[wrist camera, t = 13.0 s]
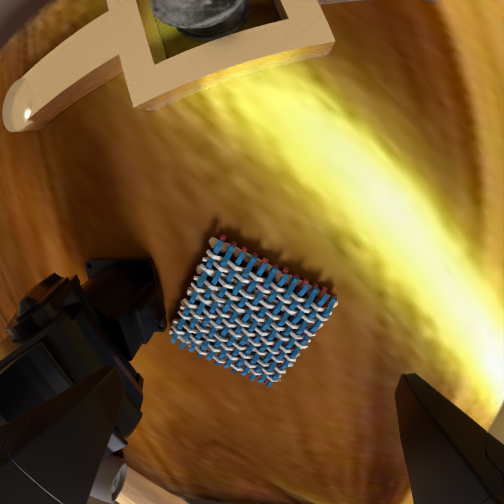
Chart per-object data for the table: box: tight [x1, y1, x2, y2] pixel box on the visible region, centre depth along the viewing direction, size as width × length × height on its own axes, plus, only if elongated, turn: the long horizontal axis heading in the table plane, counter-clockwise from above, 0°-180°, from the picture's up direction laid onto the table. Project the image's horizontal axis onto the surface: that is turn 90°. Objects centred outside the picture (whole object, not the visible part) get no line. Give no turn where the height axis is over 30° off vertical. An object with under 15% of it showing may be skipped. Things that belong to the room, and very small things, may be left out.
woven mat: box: [169, 234, 338, 387], centre depth 22 cm, size 10×11×2 cm
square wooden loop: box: [2, 0, 335, 132], centre depth 14 cm, size 24×12×3 cm, turn 107°
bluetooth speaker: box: [90, 455, 127, 504], centre depth 31 cm, size 23×9×10 cm, turn 75°
